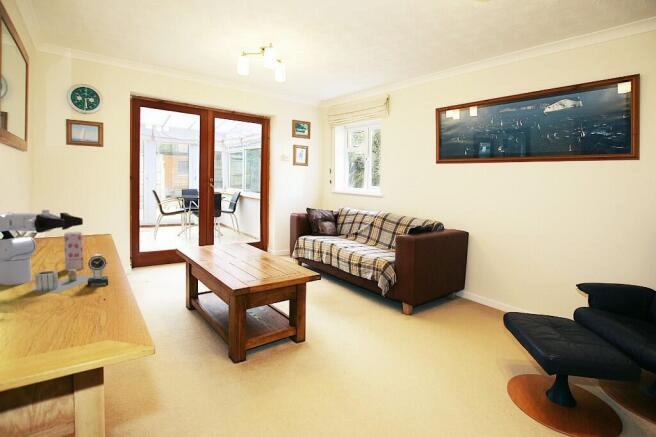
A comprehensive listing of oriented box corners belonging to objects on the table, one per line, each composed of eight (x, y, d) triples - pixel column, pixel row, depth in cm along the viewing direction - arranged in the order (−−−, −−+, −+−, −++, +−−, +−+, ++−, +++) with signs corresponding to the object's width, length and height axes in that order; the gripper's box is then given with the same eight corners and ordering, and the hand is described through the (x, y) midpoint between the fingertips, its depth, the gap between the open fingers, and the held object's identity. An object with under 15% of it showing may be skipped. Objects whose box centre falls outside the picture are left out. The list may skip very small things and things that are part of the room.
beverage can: (62, 272, 135) (61, 232, 133) (79, 269, 139) (78, 231, 138) (69, 274, 132) (67, 234, 130) (86, 271, 136) (85, 232, 135)
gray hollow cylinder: (31, 291, 107) (30, 274, 107) (45, 286, 113) (44, 270, 112) (48, 291, 107) (48, 275, 107) (62, 286, 112) (61, 271, 112)
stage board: (27, 295, 107) (27, 291, 106) (76, 278, 126) (75, 275, 126) (57, 296, 106) (57, 292, 106) (101, 279, 126) (101, 276, 126)
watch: (87, 292, 111) (86, 257, 110) (88, 285, 118) (87, 252, 117) (108, 290, 114) (107, 255, 113) (108, 283, 121) (107, 251, 120)
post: (67, 281, 118) (66, 270, 118) (71, 279, 120) (71, 269, 120) (73, 281, 118) (73, 271, 118) (78, 280, 120) (78, 269, 120)
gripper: (10, 210, 107) (54, 210, 107) (49, 208, 122) (88, 208, 121) (11, 234, 108) (55, 234, 107) (50, 229, 122) (89, 229, 122)
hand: (73, 222), depth 114 cm, fingers open, 7 cm apart
